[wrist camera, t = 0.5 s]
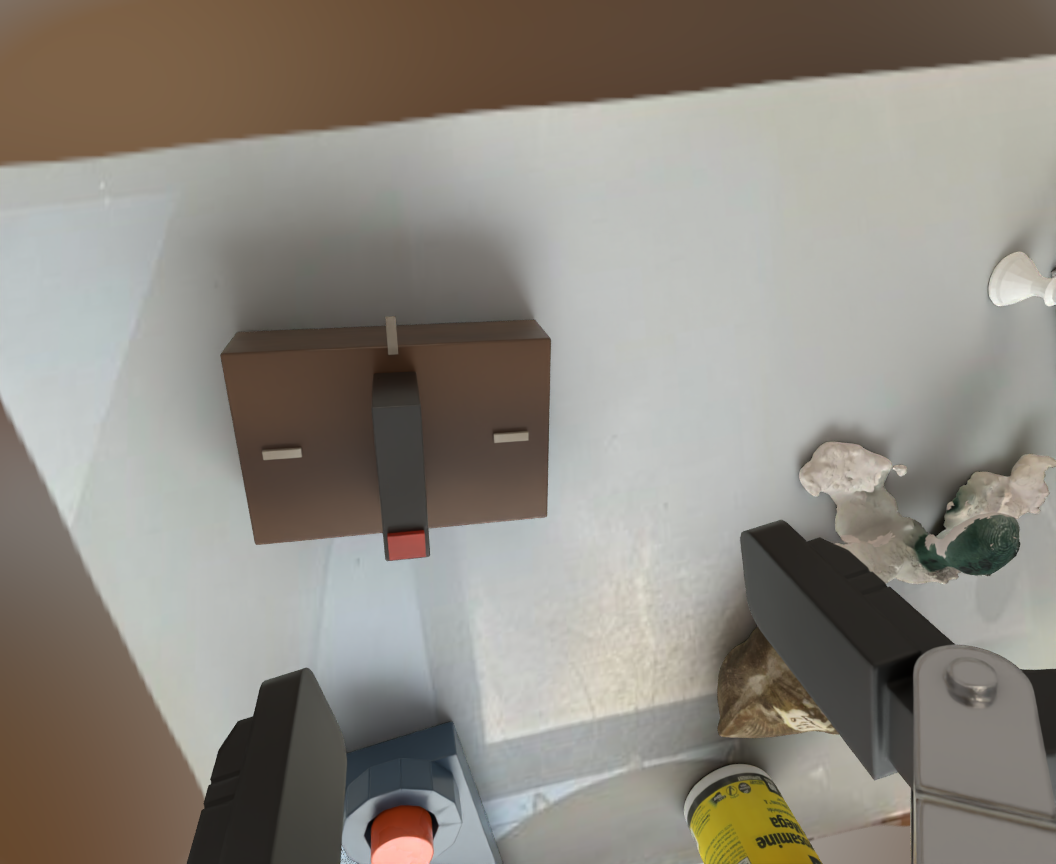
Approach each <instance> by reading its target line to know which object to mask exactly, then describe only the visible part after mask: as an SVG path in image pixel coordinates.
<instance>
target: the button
mask: <svg viewBox="0 0 1056 864" xmlns="http://www.w3.org/2000/svg"><path fill="white" fill-rule="evenodd" d="M433 854H434V847H433V832H432V819H431V816H430V814H429V813H428V811H427V810H426V809H424V808H422V807H420V806H409V805H400V806H397V807H394V808H391V809H387V810H384V811H382V812H381V813H380V814H378V815H377V817H376V818H375V819H374V821H373V823H372V826H371V864H429V863H430V861H431V860H432V857H433Z"/></svg>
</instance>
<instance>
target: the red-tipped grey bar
mask: <svg viewBox="0 0 1056 864" xmlns="http://www.w3.org/2000/svg"><path fill="white" fill-rule="evenodd" d="M371 410H372V421H373V432H374V443H375V453H376V464H377V475H378V485H379V496H380V507H381V518H382V528H383V539H384V550H385V560H386V561H393V560H403V559H413V558H422V557H429V556H430V546H429V530H428V514H427V497H426V481H425V464H424V448H423V432H422V415H421V403H420V395H419V388H418V381H417V373H416V372H415V371H412V372H393V373H375V374H373V383H372V405H371Z"/></svg>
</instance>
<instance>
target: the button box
mask: <svg viewBox="0 0 1056 864" xmlns="http://www.w3.org/2000/svg"><path fill="white" fill-rule="evenodd" d="M346 755H347V772H346V786H345V801H344V816H343V831H342V846H343V848H344V850H345V852H346V854H347V856H348V858H349V859H350V860H352V861H355V862H357V863H358V864H371V826H372V823H373V821H374V819H375V818H376V817H377V815H378V814H380V813H381V812H382V811H384V810H387V809H391V808H394V807H397V806H400V805H409V806H420V807H422V808H424V809H426V810H427V811H428V813H429V814H430V816H431V819H432V832H433V847H434V854H433V857H432V860H431V861H430V863H429V864H503V862H502V859H501V856H500V853H499V851H498V848H497V845H496V842H495V839H494V836H493V834H492V831H491V828H490V825H489V822H488V819H487V817H486V814H485V811H484V808H483V805H482V802H481V800H480V797H479V794H478V791H477V788H476V785H475V783H474V780H473V777H472V774H471V771H470V768H469V766H468V763H467V760H466V757H465V754H464V751H463V749H462V746H461V743H460V740H459V737H458V734H457V732H456V729H455V726H454V723H453V722H452V721H451V722H448V723H444V724H441V725H438V726H435V727H431V728H428V729H425V730H422V731H418V732H415V733H412V734H409V735H405V736H402V737H399V738H396V739H392V740H389V741H386V742H383V743H379V744H376V745H373V746H370V747H366V748H363V749H360V750H357V751H353V752H350V753H347V754H346Z"/></svg>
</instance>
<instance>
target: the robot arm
mask: <svg viewBox="0 0 1056 864" xmlns="http://www.w3.org/2000/svg"><path fill="white" fill-rule="evenodd" d="M740 543H741V552H742V561H743V570H744V578H745V587H746V596H747V601H748V605H749V608H750V611H751V614H752V616H753V618H754V620H755V622H756V624H757V626H758V628H759V629H760V631H761V632H762V633H763V635H764V636H765V637H766V639H767V640H768V641H769V643H770V644H771V645H772V647H773V648H774V649H775V651H776V652H777V653H778V654H779V656H780V657H781V658H782V660H783V661H784V662H785V664H786V665H787V666H788V668H789V669H790V670H791V672H792V673H793V674H794V675H795V677H796V678H797V679H798V681H799V682H800V683H801V685H802V686H803V687H804V689H805V690H806V691H807V693H808V694H809V695H810V696H811V698H812V699H813V700H814V702H815V703H816V704H817V706H818V707H819V708H820V710H821V711H822V712H823V713H824V715H825V716H826V717H827V719H828V720H829V721H830V723H831V724H832V725H833V727H834V728H835V729H836V731H837V732H838V733H839V734H840V736H841V737H842V738H843V740H844V741H845V742H846V744H847V745H848V746H849V748H850V749H851V750H852V752H853V753H854V754H855V755H856V757H857V758H858V759H859V761H860V762H861V763H862V765H863V766H864V767H865V769H866V770H867V771H868V773H869V774H870V775H871V776H872V778H873V779H874V780H877V779H880V778H883V777H886V776H889V775H891V774H894V773H897V772H898V773H899V774H900V775H901V776H902V778H903V779H904V780H905V781H906V782H907V784H908V785H909V786H910V787H911V864H1056V669H1044V670H1022V669H1019V668H1018V667H1017V666H1016V665H1014V664H1013V663H1012V662H1010V661H1009V660H1007V659H1005V658H1004V657H1002V656H1000V655H998V654H995V653H993V652H991V651H988V650H985V649H981V648H978V647H973V646H966V645H955V644H954V643H953V642H952V641H951V640H950V639H948V638H947V637H946V636H945V635H944V634H943V633H942V632H940V631H939V630H938V629H937V628H936V627H935V626H934V625H933V624H931V623H930V622H929V621H928V620H927V619H926V618H925V617H924V616H922V615H921V614H920V613H919V612H918V611H917V610H916V609H914V608H913V607H912V606H911V605H910V604H909V603H908V602H907V601H905V600H904V599H903V598H902V597H901V596H900V595H899V594H898V593H896V592H895V591H894V590H893V589H892V588H891V587H887V586H886V583H885V582H884V581H883V580H882V579H881V578H879V577H878V576H877V575H876V574H875V573H874V572H870V571H869V568H868V567H867V566H866V565H865V564H864V563H862V562H861V561H860V560H859V559H858V558H857V557H856V556H855V555H853V554H852V553H851V552H850V551H849V550H847V549H845V548H843V547H841V546H838V545H836V544H834V543H831V542H829V541H827V540H824V539H822V538H817V539H813V540H810V541H806V540H805V539H804V538H803V537H802V536H801V535H799V534H798V533H797V532H796V531H795V530H794V529H793V528H792V527H791V526H790V525H789V524H788V523H787V522H785V521H783V520H778V521H775V522H772V523H769V524H766V525H762V526H759V527H756V528H753V529H750V530H747V531H743V532H742V533H741V537H740ZM346 772H347V755H346V747H345V742H344V738H343V734H342V731H341V729H340V726H339V724H338V722H337V720H336V718H335V716H334V714H333V712H332V710H331V708H330V706H329V704H328V702H327V700H326V698H325V696H324V694H323V692H322V690H321V688H320V686H319V684H318V682H317V680H316V678H315V676H314V674H313V672H312V671H311V670H310V669H309V668H304V669H300V670H297V671H294V672H291V673H288V674H285V675H281V676H278V677H275V678H272V679H269V680H266V681H264V682H263V683H262V685H261V687H260V690H259V694H258V699H257V703H256V707H255V711H254V715H253V717H250V718H247V719H243V720H240V721H238V722H237V723H236V725H235V726H234V728H233V729H232V731H231V732H230V734H229V735H228V737H227V738H226V740H225V741H224V743H223V744H222V746H221V747H220V749H219V751H218V754H217V758H216V761H215V765H214V768H213V772H212V776H211V779H210V780H211V785H209V786H208V790H207V793H206V797H205V801H204V807H205V808H204V809H203V810H202V811H201V815H200V819H199V822H198V825H197V829H196V833H195V836H194V840H193V843H192V847H191V850H190V854H189V857H188V861H187V864H340V860H341V845H342V831H343V816H344V801H345V786H346Z"/></svg>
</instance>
